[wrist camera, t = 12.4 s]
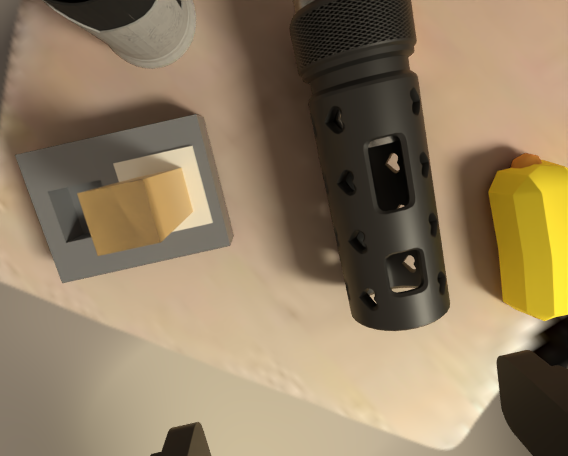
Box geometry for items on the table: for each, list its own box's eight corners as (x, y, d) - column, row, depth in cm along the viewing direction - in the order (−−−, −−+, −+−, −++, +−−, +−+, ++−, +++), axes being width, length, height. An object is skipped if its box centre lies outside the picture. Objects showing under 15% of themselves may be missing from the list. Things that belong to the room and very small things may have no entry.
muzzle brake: (338, 295, 42) (361, 343, 32) (280, 19, 36) (285, -30, 26) (424, 275, 42) (474, 317, 32) (380, -5, 36) (426, -63, 26)
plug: (136, 177, 34) (77, 193, 23) (181, 167, 34) (142, 179, 23) (149, 220, 35) (97, 256, 24) (193, 211, 35) (160, 242, 24)
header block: (41, 153, 37) (12, 155, 33) (203, 117, 37) (195, 113, 33) (82, 269, 40) (60, 284, 36) (233, 235, 40) (230, 246, 36)
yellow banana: (549, 143, 40) (475, 162, 40) (605, 143, 33) (517, 166, 33) (564, 302, 43) (497, 319, 44) (617, 330, 37) (538, 350, 37)
